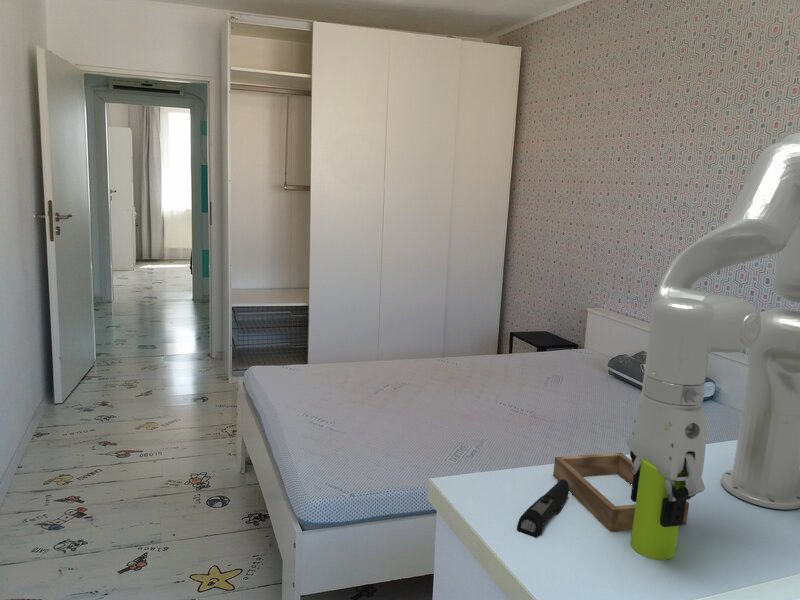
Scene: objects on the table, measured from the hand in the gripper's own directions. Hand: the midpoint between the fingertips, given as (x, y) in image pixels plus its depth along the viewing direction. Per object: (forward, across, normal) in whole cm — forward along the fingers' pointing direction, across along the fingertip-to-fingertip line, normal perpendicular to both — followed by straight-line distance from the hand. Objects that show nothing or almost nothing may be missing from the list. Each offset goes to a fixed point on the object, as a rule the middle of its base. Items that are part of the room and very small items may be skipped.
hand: (655, 511), depth 89 cm
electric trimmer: (+6, +11, +11) cm, 17 cm away
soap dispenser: (+6, 0, 0) cm, 6 cm away
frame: (+6, +14, -3) cm, 15 cm away
